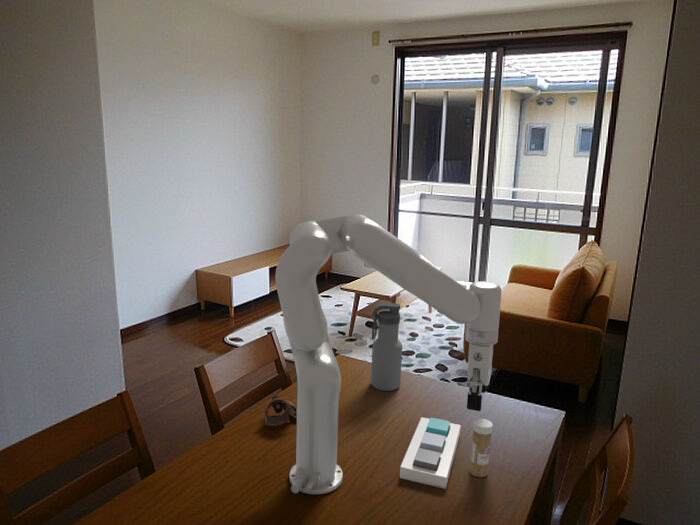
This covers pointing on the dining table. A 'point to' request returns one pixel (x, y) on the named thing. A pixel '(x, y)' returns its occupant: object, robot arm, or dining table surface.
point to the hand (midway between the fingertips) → (476, 400)
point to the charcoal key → (427, 459)
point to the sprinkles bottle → (480, 447)
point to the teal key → (438, 426)
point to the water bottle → (386, 348)
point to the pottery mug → (279, 411)
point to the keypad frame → (446, 458)
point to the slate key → (433, 442)
